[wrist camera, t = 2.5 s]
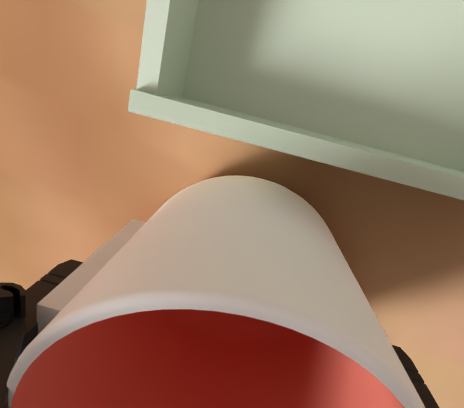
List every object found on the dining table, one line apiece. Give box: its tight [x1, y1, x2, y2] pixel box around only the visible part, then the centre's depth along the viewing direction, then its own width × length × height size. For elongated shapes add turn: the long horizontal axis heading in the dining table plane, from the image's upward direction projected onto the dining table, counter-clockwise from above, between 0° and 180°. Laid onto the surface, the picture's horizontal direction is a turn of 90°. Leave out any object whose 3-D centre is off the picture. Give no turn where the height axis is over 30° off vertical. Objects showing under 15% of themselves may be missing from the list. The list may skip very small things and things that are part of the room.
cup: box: [7, 175, 425, 408], centre depth 11 cm, size 10×10×10 cm
